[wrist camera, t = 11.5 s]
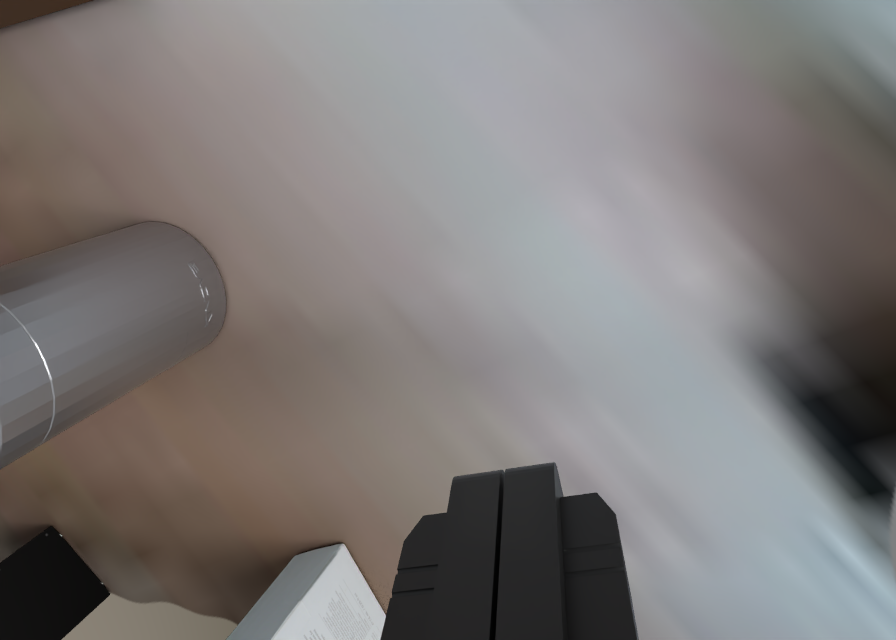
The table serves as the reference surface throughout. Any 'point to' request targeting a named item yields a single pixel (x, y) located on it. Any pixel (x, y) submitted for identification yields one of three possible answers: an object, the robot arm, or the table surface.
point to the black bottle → (46, 590)
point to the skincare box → (315, 602)
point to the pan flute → (31, 9)
